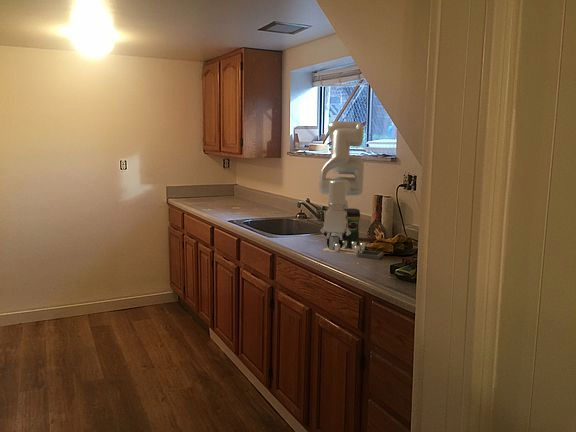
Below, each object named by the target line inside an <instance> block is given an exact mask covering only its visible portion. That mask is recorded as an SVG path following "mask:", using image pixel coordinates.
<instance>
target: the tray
mask: <svg viewBox="0 0 576 432" xmlns="http://www.w3.org/2000/svg"><path fill="white" fill-rule="evenodd" d="M382 257H384V252H383V251H373V250H366V249H365V250H363V251H361V252H360V253H358V255H357V258H362V259H372V260H380V259H381V258H382Z"/></svg>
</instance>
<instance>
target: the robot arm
mask: <svg viewBox="0 0 576 432" xmlns="http://www.w3.org/2000/svg"><path fill="white" fill-rule="evenodd" d="M327 132H328V137H329V139H330V140H331V148H330V149H331V150H330V158H329V160H327V161H325V163H324V164H323V166H322V167H321V170H320V173H319V174H320V175H319V183H318V184H319V185H318V188H319V192H320V193H321V194H322V195H328V200H327V201H328V203H327V204H328V205H327V209H326V212H325V217H324V223H323V226H322V227H321V228H320V232H321V233H322V234H323V236H324V237H325V238H326V246H327V247H328V248H329V237H330V236H340V240H339V244H340V249H341V248H342V247H343V239H344V238H345V237H347V236H348V235H350V234H351V232H350V230H349V229H348V219H347V211H345V209H348V208H349V204H348V201H347V200H346V196H347V197H348V196H350V197H358V196H361V195H362V193H363V190H364V171H365V170H364V167H365V164H364V159H363V157H361V156H359V155H350V153H351V152H350V148H351V147H360V146H362V144H363V143H364V142H363V141H364V124H363V123H362V122H359V121H343V120H342V121H341V120H336V121H335V120H334V121H331V122H329V124H328V125H327ZM331 170H332V171H333V172H334V173H335V174H337V175H338V174H339V175H353V176H352V177H350V176H333V177H332V178H330V177H329V178H328V177H326V176H327V174H328V173H329V172H330V171H331ZM345 232H347V233H346V234H343V233H345Z"/></svg>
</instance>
